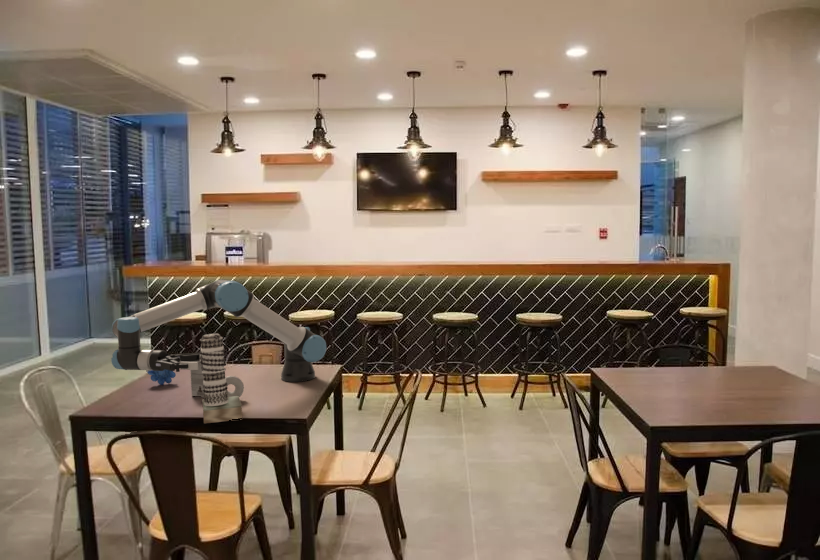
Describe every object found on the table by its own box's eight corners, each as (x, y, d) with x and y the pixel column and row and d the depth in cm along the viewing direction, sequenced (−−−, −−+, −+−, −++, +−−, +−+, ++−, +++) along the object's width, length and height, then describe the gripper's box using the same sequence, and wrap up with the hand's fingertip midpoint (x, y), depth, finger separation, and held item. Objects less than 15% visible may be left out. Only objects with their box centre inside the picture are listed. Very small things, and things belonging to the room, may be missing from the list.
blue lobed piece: (148, 388, 269) (146, 361, 267) (147, 385, 275) (146, 358, 274) (176, 385, 273) (175, 358, 272) (175, 381, 279) (174, 355, 278)
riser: (239, 408, 237) (238, 395, 236) (242, 419, 223) (241, 405, 223) (203, 412, 232) (202, 399, 232) (203, 423, 219) (203, 409, 219)
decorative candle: (226, 405, 221) (220, 335, 220) (199, 407, 221) (194, 337, 220) (232, 399, 230) (227, 332, 229) (207, 401, 230) (202, 333, 229)
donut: (217, 402, 246) (216, 377, 245) (218, 400, 249) (217, 375, 248) (244, 400, 247) (243, 376, 247) (244, 398, 251) (243, 374, 250)
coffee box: (202, 391, 263) (201, 353, 262) (216, 391, 262) (215, 354, 260) (191, 397, 254) (189, 358, 253) (205, 397, 253) (203, 358, 252)
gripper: (172, 363, 243) (223, 364, 239) (133, 378, 218) (189, 380, 215) (172, 344, 242) (223, 345, 239) (132, 357, 218) (188, 358, 214)
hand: (207, 362), depth 227 cm, fingers open, 13 cm apart
